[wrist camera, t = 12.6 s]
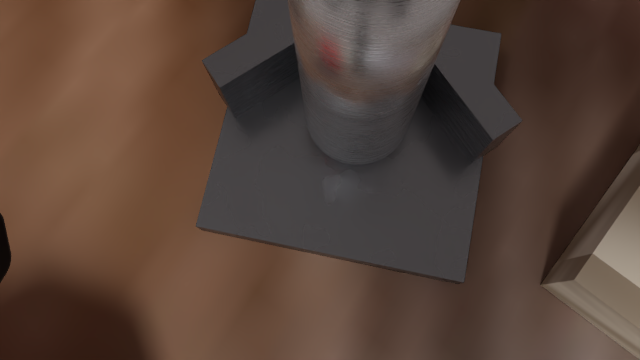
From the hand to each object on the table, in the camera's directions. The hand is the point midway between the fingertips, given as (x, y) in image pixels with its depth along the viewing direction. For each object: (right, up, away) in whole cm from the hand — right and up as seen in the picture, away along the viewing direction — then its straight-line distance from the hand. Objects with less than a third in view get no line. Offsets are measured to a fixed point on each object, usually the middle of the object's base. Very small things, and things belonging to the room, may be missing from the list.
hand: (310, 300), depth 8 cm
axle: (+2, +4, +14) cm, 15 cm away
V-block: (+1, +3, +15) cm, 15 cm away
